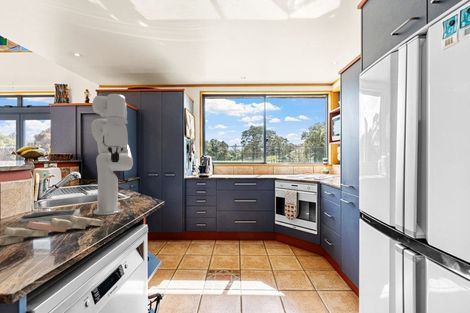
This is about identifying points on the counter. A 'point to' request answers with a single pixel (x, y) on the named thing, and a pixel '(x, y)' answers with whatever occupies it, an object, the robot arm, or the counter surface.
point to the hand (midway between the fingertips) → (114, 162)
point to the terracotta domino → (45, 226)
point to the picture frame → (50, 215)
